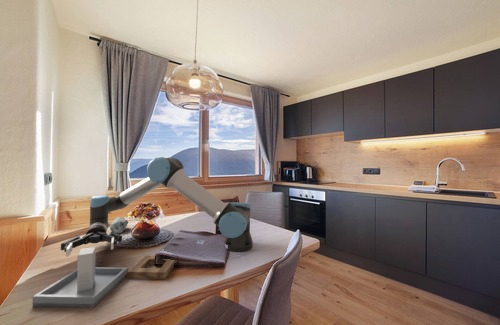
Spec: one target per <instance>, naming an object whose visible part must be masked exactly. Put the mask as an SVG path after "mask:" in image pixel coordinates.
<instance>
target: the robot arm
mask: <svg viewBox="0 0 500 325" xmlns="http://www.w3.org/2000/svg"><path fill="white" fill-rule="evenodd" d="M146 175H147V177H146V178H144V179H143V180H142V179H141V181H139V182H137V183H135V184H134V185H132V186H131V187H129V188H127V189H125V190H124V191H122V192H120V193H118V194H117V195H114V196H111V197H109V196H108V195H104V194H101V195H94V196H91V197H90V203H89V227H88V228H87V231H86V234H85V235H82V236H81V235H80V234H78V235H76V236H74V237H72V238H70V239H68V240H66V241H63V242H61V244H60V251H64V253H65V257H66V258H68V257H69V256H70V254H71V253H72V252H73V249H74V248H77V247H79V246H82V245H89V244H99V243H104V242H106V243H110V250H114V246H115V245H118V243H122V242H123V235H121V234H120V233H114V231H111V230H110V232H109V233H107V232H108V228H109V213H112V212H115V211H119V210H122V209H125V208H127V207H128V206H129V205H130V204H132V203H133V202H135V201H136V200H138V199H140V198H142V197H144V196H145V195H148V193H150V192H153V191H155V189H158V188H159V187H161V186H164V187H165V188H166V189H174V190H175V191H176V192H177V193H179V194H180V195H182V197H185V198H186V199H187V200H189V201H190V202H191V203H192V204H194V205H195V206H196V207H198V209H200V210H202V211H203V212H204V213H206V214H207V215H208V216H210V217H211V218H212V219H213V224H215V225H216V226H217V227H218V229H219V231H220V234H222V235H223V236H224V237H225V239H224V241H223V244H224V243H225V244H226V245H228V249H229V250H228V251H231V252H236V253H237V252H240V253H241V252H247V251H250V250H251V249H252V248H253V246H254V242H253V241H254V240H253V239H252V234H251V210H252V207H251V204H250V203H249V202H234V201H233V202H231V201H230V202H229V201H228V202H224V201H222V200H221V198H218V197H217V196H216V195H214V194H213V193H211V192H210V191H209V190H208V189H206V188H204V186H202V185H201V184H200V183H198V182H196V181H195V180H194V179H193V178H191V177H190V176H188V175H187V174H186V173H185V167H184V165H183V162H182V161H181V160H179V159H177V158H175V157H163V156H159V157H155V158H153V159H151V160H150V161H149V163H148V164H147V167H146Z"/></svg>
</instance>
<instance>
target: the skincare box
mask: <svg viewBox="0 0 500 325" xmlns="http://www.w3.org/2000/svg"><path fill="white" fill-rule="evenodd" d="M76 266H77V268H76V269H77V292H79V291H84V290H88V289H92V288H93V284H94V281H95V267H96V247H95V246H94V247H93V246H92V247H87V248H80V250H79V252H78V254H77V265H76Z"/></svg>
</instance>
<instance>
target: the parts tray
mask: <svg viewBox="0 0 500 325" xmlns="http://www.w3.org/2000/svg"><path fill="white" fill-rule="evenodd" d="M128 271H129V267H114V266H113V267H105V266H104V267H101V266H95V281H94V284H93V288H92V289H88V290H84V291H79V292H77V268H76V269H75V270H73V271H71V272H69V273H68V274H67V275H64V276H63V277H62V278H60V279H58V280H57V281H55V282H54V283H51V284H50V285H48V286H47V287H45V288H44V289H42V290H41V291H39V292H37V293H36V294H34V295H32V307H33V308H34V307H35V308H36V307H37V308H39V307H40V308H41V307H42V308H43V307H45V308H48V307H49V308H51V307H52V308H57V307H58V308H94V307H96V306H97V305H98V304H99V303H100V302H101V301H102V300H103V299H104V298H105V297H106V296H108V295H109V294H110V293H111V292H112V291H113V290H114V289H115V288H116V287H117V286H118V285H119V284H121V283H122V281H124V279H127V272H128Z"/></svg>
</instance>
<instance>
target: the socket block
mask: <svg viewBox="0 0 500 325" xmlns="http://www.w3.org/2000/svg"><path fill="white" fill-rule="evenodd" d="M155 256H156V255H143V257H142V258H141V259H140V260H139V261H138V262H137V263H136V264H135V265H133V266H132V267H131V268H130V269H128V272H127V277H126V279H136V280H138V279H140V280H165V279H167V277H168V276H169V274H170V273H171V271H172V270H173V269H174V267H175V266H174V262H175V260H170V259H163V260H165V261H166V262H165V263H164V265H161V267H160V268H159V267H158V268H157V267H148V266H150V265H152V266H155V265H154V261H155Z"/></svg>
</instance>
